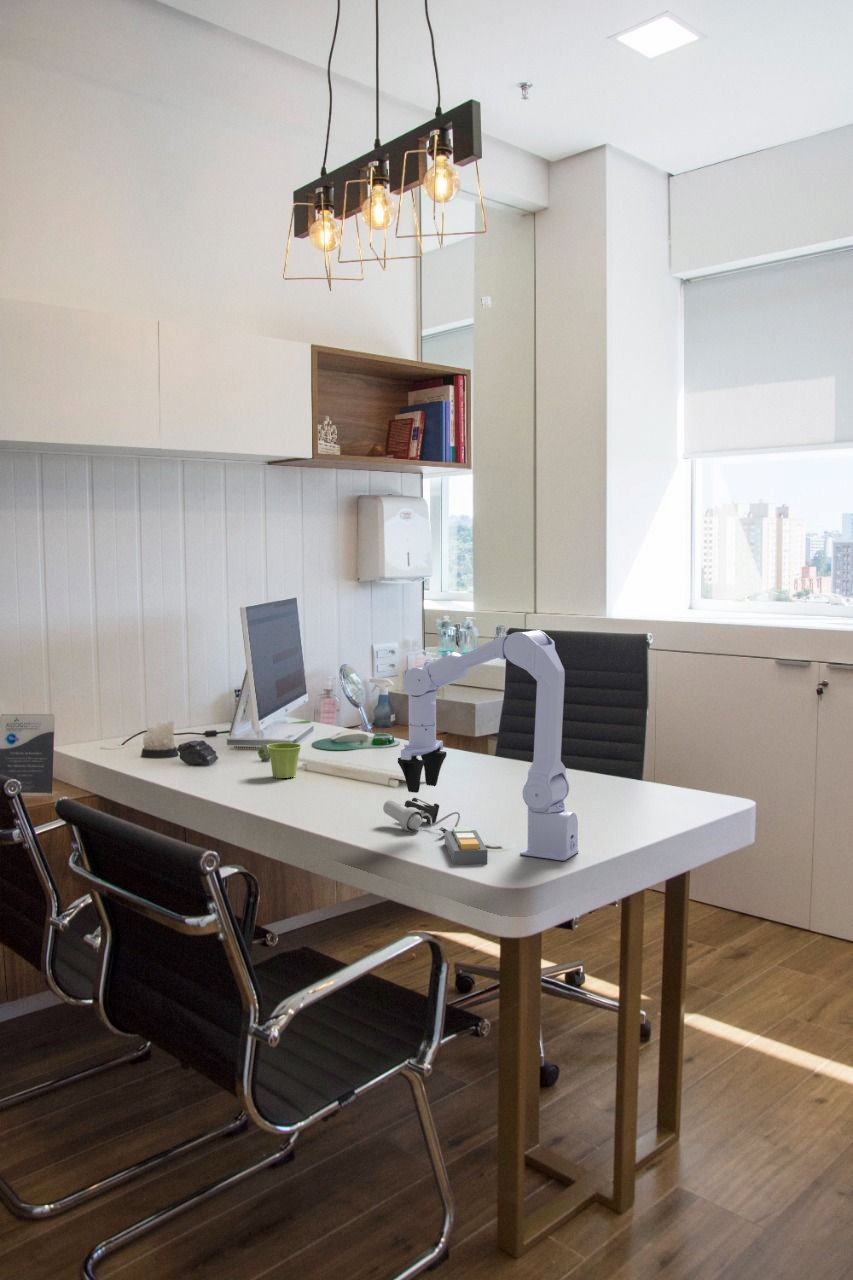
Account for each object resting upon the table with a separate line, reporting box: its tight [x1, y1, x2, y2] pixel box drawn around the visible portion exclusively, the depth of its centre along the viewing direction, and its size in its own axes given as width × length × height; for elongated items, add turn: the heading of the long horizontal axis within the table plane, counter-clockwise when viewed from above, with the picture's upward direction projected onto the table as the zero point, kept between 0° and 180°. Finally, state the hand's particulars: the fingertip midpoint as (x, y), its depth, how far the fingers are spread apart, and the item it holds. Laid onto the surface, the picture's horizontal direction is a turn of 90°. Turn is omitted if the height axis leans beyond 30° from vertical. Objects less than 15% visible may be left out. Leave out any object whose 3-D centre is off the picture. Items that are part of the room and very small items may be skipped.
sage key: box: [452, 826, 472, 837], centre depth 213 cm, size 3×3×2 cm
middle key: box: [456, 833, 475, 843], centre depth 208 cm, size 3×3×2 cm
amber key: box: [459, 839, 479, 850], centre depth 203 cm, size 3×3×2 cm
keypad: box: [444, 829, 488, 865], centre depth 208 cm, size 15×6×3 cm, turn 6°
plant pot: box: [266, 742, 302, 779], centre depth 285 cm, size 9×9×9 cm
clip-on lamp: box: [382, 797, 461, 835], centre depth 228 cm, size 12×6×18 cm
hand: (422, 788), depth 221 cm, fingers open, 7 cm apart
